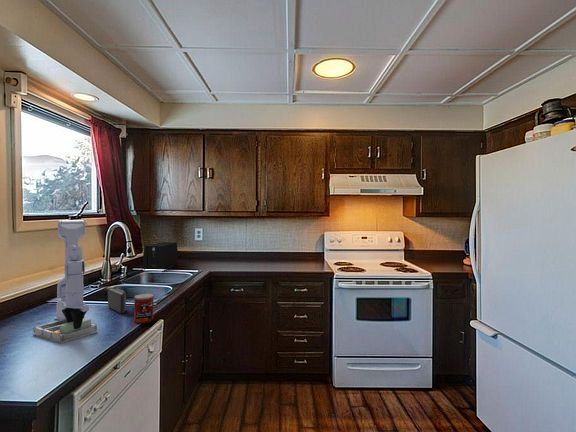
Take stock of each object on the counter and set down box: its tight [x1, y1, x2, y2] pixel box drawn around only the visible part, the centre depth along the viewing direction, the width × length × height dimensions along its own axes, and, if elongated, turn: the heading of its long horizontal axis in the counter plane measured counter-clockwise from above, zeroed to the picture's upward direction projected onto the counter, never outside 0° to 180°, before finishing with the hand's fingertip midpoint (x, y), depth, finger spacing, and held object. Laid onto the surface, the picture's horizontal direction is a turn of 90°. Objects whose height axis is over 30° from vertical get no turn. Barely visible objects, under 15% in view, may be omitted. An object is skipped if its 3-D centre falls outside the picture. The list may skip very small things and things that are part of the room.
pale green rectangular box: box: [60, 317, 92, 334], centre depth 137 cm, size 3×10×4 cm, turn 152°
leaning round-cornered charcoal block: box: [107, 288, 127, 314], centre depth 172 cm, size 16×5×9 cm, turn 47°
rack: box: [32, 319, 98, 344], centre depth 139 cm, size 18×14×3 cm
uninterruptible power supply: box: [142, 241, 179, 270], centre depth 291 cm, size 16×34×20 cm, turn 178°
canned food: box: [133, 293, 154, 324], centre depth 156 cm, size 8×8×11 cm
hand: (74, 327), depth 136 cm, fingers closed on pale green rectangular box, 3 cm apart
